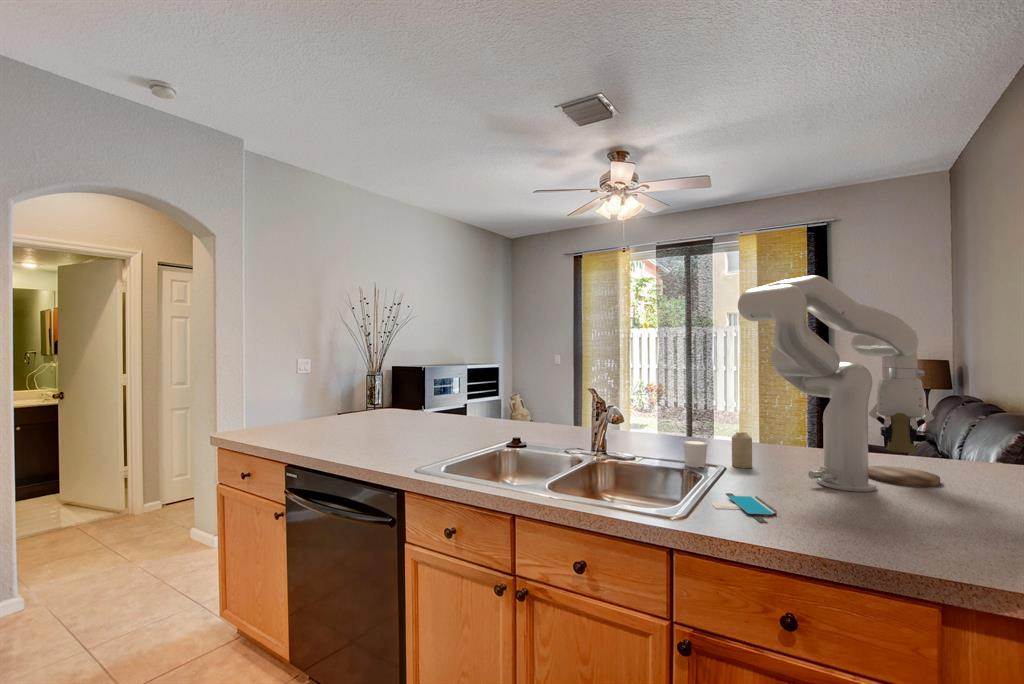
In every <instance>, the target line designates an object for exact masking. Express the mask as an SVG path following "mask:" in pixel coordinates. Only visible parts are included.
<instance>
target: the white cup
mask: <svg viewBox="0 0 1024 684" xmlns="http://www.w3.org/2000/svg"><path fill="white" fill-rule="evenodd" d="M682 444H683V453H684V454H683V455H684V463H685V466H686V467H689V468H695V469H700V468H699V467H702V466H704V465H705V466H706V464H707V463H706V461H707V452H708V451H707V448H708V442H705V441H702V440H701V441H700V440H684V441H683V443H682Z"/></svg>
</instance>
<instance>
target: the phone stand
mask: <svg viewBox="0 0 1024 684" xmlns="http://www.w3.org/2000/svg"><path fill="white" fill-rule="evenodd" d="M725 494H726V496H727V498H729V499H730V500H731V501H732V502H733V503H727V502H724V503H723V502H711V503H710V504H711V505H712V507H714V509H716V510H733V511H734V510H735V511H736V510H739V511H741V510H742V511H745V513H747V514H749V515H750V516H751V517H752V518H753V519H754V520H756V521H758V522H759V523H769V522H768V521H767V520H765V519H764V517H765V518H766V517H771V515H775V516H777V514H778V511H777V510H776V509H775V508H773V507H772V506H771V505H770V504H768V503H766V501H764V500H762V499H761V498H760V497H758V495H755V497H752V496H746V495H744V496H743V495H735V494H733V493H725Z"/></svg>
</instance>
